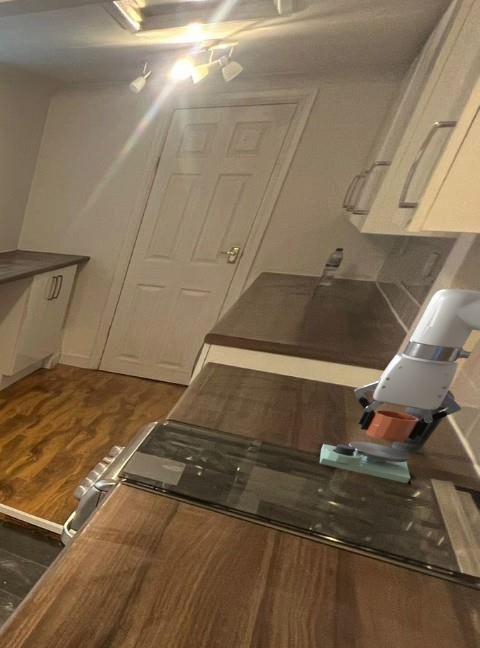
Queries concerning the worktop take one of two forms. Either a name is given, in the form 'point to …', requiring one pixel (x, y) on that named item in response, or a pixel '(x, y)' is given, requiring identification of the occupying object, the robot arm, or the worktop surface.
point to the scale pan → (378, 453)
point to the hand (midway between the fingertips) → (386, 432)
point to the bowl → (391, 425)
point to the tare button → (345, 449)
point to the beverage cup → (421, 440)
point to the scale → (364, 465)
